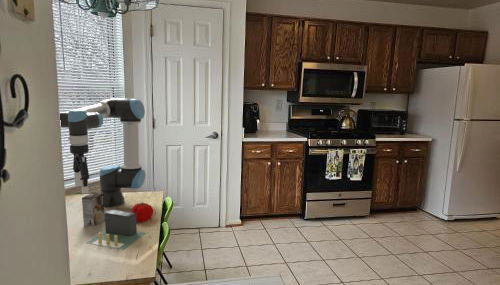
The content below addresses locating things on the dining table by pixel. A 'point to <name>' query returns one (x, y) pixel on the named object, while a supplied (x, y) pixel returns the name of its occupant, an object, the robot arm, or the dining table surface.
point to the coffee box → (93, 209)
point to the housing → (120, 222)
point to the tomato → (143, 212)
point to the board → (115, 240)
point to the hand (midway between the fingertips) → (81, 189)
